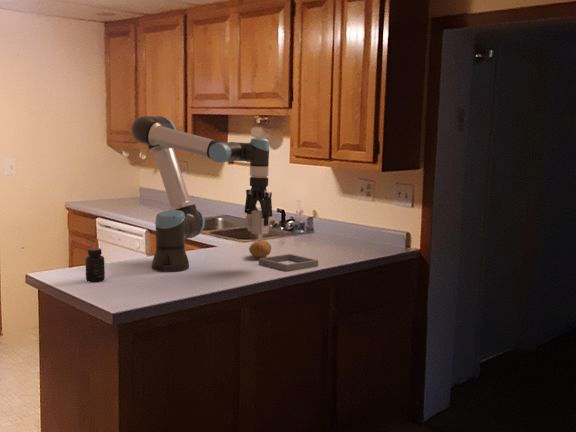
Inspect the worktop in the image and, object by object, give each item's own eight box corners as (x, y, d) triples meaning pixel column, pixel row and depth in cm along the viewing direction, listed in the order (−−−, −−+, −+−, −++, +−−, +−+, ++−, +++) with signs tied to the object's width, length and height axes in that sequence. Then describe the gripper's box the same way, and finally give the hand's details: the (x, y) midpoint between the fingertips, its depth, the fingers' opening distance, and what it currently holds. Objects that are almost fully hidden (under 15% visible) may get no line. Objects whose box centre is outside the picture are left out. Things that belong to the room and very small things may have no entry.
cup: (268, 234, 265) (269, 213, 264) (244, 234, 265) (244, 212, 263) (268, 232, 272) (269, 210, 271) (244, 231, 272) (245, 210, 271)
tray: (286, 271, 267) (286, 265, 267) (258, 264, 280) (258, 258, 280) (318, 265, 279) (318, 260, 279) (289, 259, 292) (289, 253, 292)
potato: (273, 255, 301) (273, 238, 300) (268, 261, 288) (269, 243, 287) (252, 254, 302) (252, 237, 301) (247, 260, 289) (247, 242, 288)
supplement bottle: (82, 280, 245) (81, 248, 244) (99, 277, 250) (98, 246, 249) (91, 283, 240) (90, 251, 239) (108, 280, 245) (107, 249, 244)
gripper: (282, 178, 260) (281, 234, 263) (250, 174, 275) (249, 228, 278) (268, 178, 255) (266, 236, 258) (236, 175, 270) (235, 229, 273)
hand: (257, 232), depth 268 cm, fingers closed on cup, 8 cm apart
